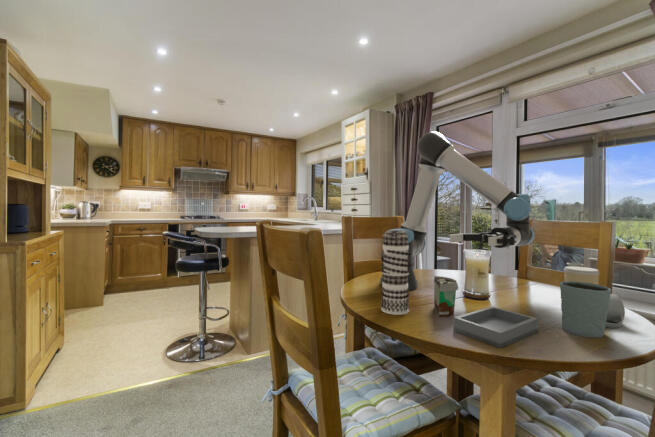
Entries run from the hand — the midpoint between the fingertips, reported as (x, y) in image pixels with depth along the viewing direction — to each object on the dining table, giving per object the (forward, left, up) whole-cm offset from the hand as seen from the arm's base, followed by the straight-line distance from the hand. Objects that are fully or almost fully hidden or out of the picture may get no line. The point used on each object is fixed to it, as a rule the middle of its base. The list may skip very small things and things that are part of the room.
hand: (468, 239), depth 99 cm
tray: (+16, -13, -22) cm, 30 cm away
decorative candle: (-10, -23, -22) cm, 33 cm away
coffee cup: (+18, +36, -22) cm, 46 cm away
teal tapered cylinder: (+28, +7, -22) cm, 36 cm away
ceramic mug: (+28, +21, -22) cm, 42 cm away
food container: (0, -11, -22) cm, 25 cm away
